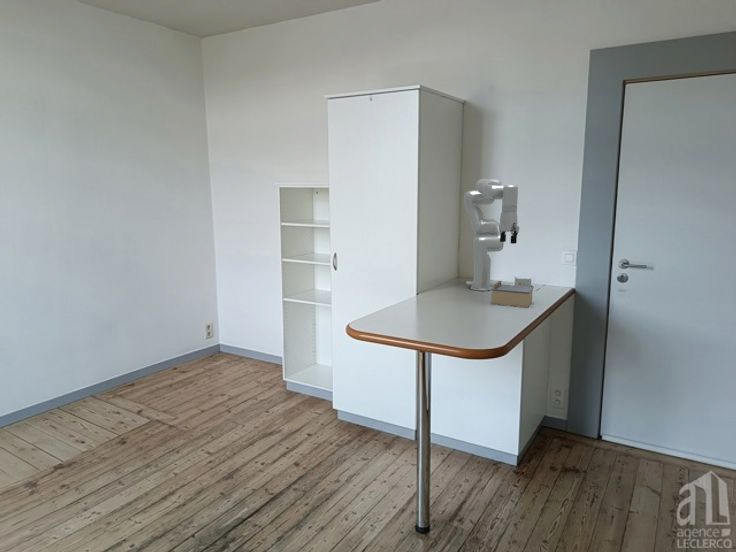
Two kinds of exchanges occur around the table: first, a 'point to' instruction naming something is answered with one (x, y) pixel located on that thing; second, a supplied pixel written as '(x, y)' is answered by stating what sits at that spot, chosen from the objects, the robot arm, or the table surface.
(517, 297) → the tray
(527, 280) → the small box
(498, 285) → the lid
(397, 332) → the table surface
